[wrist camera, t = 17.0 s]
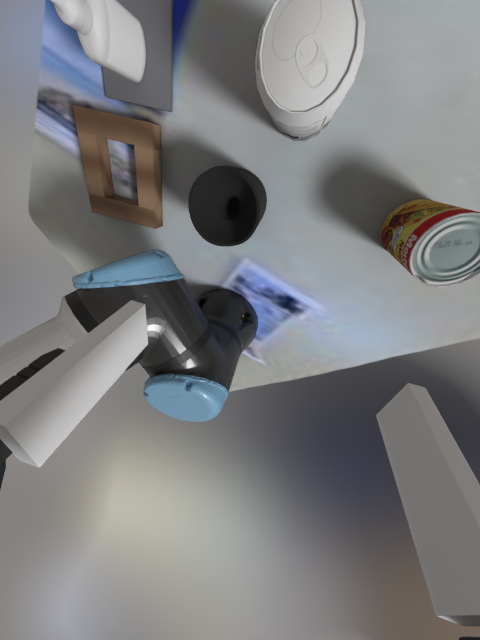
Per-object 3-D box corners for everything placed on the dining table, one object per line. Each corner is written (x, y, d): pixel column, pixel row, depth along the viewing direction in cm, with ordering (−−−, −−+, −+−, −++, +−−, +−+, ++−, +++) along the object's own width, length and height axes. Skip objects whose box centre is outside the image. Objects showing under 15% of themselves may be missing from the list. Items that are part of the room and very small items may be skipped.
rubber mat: (172, 112, 32) (170, 111, 32) (108, 97, 33) (106, 96, 32) (173, -2, 26) (170, -5, 26) (95, -16, 27) (92, -19, 27)
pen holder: (229, 152, 33) (206, 147, 25) (281, 189, 34) (275, 196, 26) (204, 211, 39) (178, 222, 31) (250, 242, 40) (236, 260, 32)
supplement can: (260, 97, 29) (230, 46, 17) (319, 29, 25) (334, -100, 13) (293, 156, 32) (288, 149, 20) (352, 103, 28) (390, 53, 16)
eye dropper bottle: (158, 44, 28) (83, -20, 19) (138, 90, 31) (64, 55, 22) (130, 8, 27) (34, -81, 17) (112, 59, 30) (21, 8, 20)
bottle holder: (162, 225, 42) (155, 228, 40) (102, 209, 43) (92, 211, 41) (161, 125, 33) (151, 123, 31) (85, 108, 34) (72, 104, 32)
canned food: (368, 230, 35) (394, 253, 25) (423, 185, 30) (480, 193, 21) (398, 264, 36) (433, 299, 27) (454, 227, 32) (520, 252, 22)
